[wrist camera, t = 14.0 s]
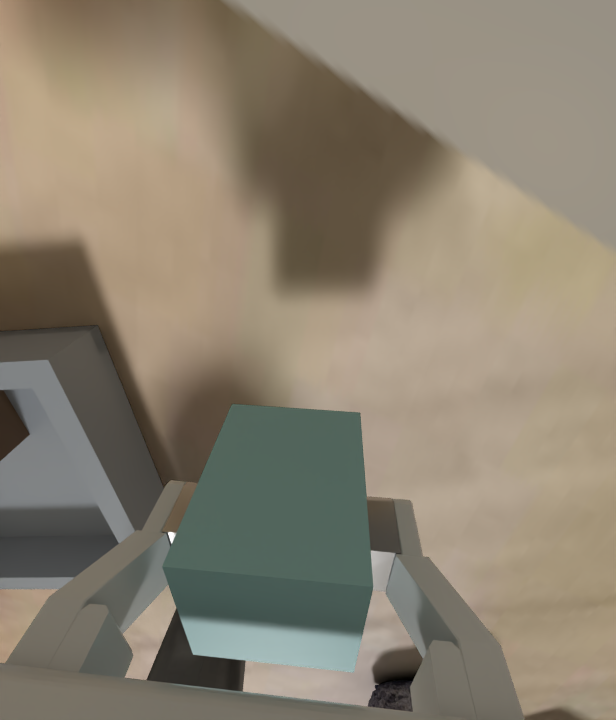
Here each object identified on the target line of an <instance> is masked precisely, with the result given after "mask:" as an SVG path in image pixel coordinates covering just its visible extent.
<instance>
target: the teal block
mask: <svg viewBox="0 0 616 720" xmlns="http://www.w3.org/2000/svg"><path fill="white" fill-rule="evenodd" d="M162 568H163V571H164V574H165V576H166V579H167V582H168V585H169V588H170V591H171V593H172V596H173V599H174V602H175V605H176V608H177V610H178V613H179V616H180V619H181V622H182V625H183V627H184V630H185V633H186V636H187V639H188V642H189V645H190V647H191V650H192V653H193V655H201V656H210V657H219V658H228V659H237V660H246V661H255V662H264V663H273V664H282V665H291V666H300V667H309V668H318V669H327V670H336V671H345V672H354V669H355V665H356V661H357V656H358V652H359V647H360V643H361V639H362V634H363V630H364V626H365V621H366V617H367V613H368V608H369V604H370V599H371V595H372V591H373V575H372V562H371V549H370V536H369V523H368V510H367V496H366V483H365V470H364V457H363V444H362V431H361V417H360V413H358V412H343V411H328V410H314V409H299V408H285V407H270V406H255V405H241V404H232V405H231V407H230V410H229V412H228V414H227V417H226V419H225V421H224V424H223V426H222V428H221V431H220V433H219V435H218V438H217V440H216V442H215V445H214V447H213V449H212V452H211V454H210V456H209V458H208V461H207V463H206V465H205V468H204V470H203V472H202V475H201V477H200V479H199V482H198V484H197V486H196V489H195V491H194V493H193V496H192V498H191V500H190V503H189V505H188V507H187V510H186V512H185V514H184V517H183V519H182V521H181V524H180V526H179V528H178V531H177V533H176V535H175V538H174V540H173V542H172V544H171V547H170V549H169V551H168V554H167V556H166V558H165V561H164V563H163V565H162Z"/></svg>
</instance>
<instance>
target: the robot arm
mask: <svg viewBox="0 0 616 720" xmlns="http://www.w3.org/2000/svg"><path fill="white" fill-rule="evenodd" d="M197 484H198V483H195V482H186V481H175V480H170V481H169V482H168V483H167V484H166V486H165V488H164V490H163V491H162V493H161V495H160V497H159V499H158V501H157V503H156V505H155V507H154V508H153V510H152V512H151V514H150V516H149V518H148V520H147V522H146V523H145V525H144V527H143V529H142V530H136V531H135V532H134V533H132V534H131V535H130V536H128V537H127V538H126V539H125V540H123V541H122V542H121V543H119V544H118V545H117V546H115V547H114V548H113V549H111V550H110V551H109V552H107V553H106V554H105V555H103V556H102V557H101V558H100V559H98V560H97V561H96V562H94V563H93V564H92V565H90V566H89V567H88V568H86V569H85V570H84V571H82V572H81V573H80V574H79V575H77V576H76V577H75V578H73V579H72V580H71V581H69V582H68V583H67V584H65V585H64V586H63V587H61V588H60V589H59V590H58V591H56V592H55V593H54V594H52V595H51V596H50V597H49V598H48V599H47V601H46V602H45V604H44V605H43V607H42V608H41V610H40V611H39V613H38V614H37V616H36V617H35V619H34V620H33V622H32V623H31V625H30V626H29V628H28V629H27V631H26V632H25V634H24V635H23V637H22V638H21V640H20V641H19V643H18V644H17V646H16V647H15V649H14V650H13V652H12V653H11V655H10V656H9V658H8V660H7V661H6V663H5V664H4V663H0V720H525V719H524V716H523V713H522V710H521V707H520V704H519V700H518V697H517V694H516V691H515V688H514V685H513V682H512V679H511V676H510V673H509V670H508V666H507V663H506V660H505V657H504V654H503V651H502V648H501V645H500V644H499V643H498V642H497V640H496V639H495V638H494V637H493V636H492V634H491V633H490V632H489V631H488V629H487V628H486V627H485V626H484V625H483V623H482V622H481V621H480V620H479V618H478V617H477V616H476V615H475V614H474V612H473V611H472V610H471V609H470V607H469V606H468V605H467V604H466V602H465V601H464V600H463V599H462V598H461V596H460V595H459V594H458V593H457V591H456V590H455V589H454V588H453V587H452V585H451V584H450V583H449V582H448V580H447V579H446V578H445V577H444V575H443V574H442V573H441V572H440V571H439V569H438V568H437V567H436V566H435V564H434V563H433V562H432V561H431V560H430V558H429V557H424V556H423V554H422V549H421V544H420V539H419V535H418V530H417V525H416V520H415V515H414V510H413V506H412V503H411V501H410V500H403V499H391V498H382V497H367V510H368V523H369V536H370V549H371V562H372V575H373V590H375V591H383V592H386V595H387V597H388V599H389V600H390V602H391V604H392V606H393V607H394V609H395V611H396V613H397V614H398V616H399V618H400V620H401V621H402V623H403V625H404V627H405V628H406V630H407V632H408V634H409V635H410V637H411V639H412V641H413V642H414V644H415V646H416V648H417V649H418V651H419V653H420V655H421V656H422V658H423V661H422V663H421V665H420V667H419V669H418V671H417V673H416V676H415V678H414V680H413V682H412V684H411V686H410V691H411V699H412V708H413V712H409V711H401V710H393V709H384V708H376V707H367V706H359V705H350V704H342V703H334V702H325V701H317V700H308V699H300V698H291V697H283V696H274V695H266V694H258V693H249V692H241V691H232V690H224V689H215V688H207V687H199V686H190V685H182V684H173V683H165V682H156V681H148V680H139V679H131V678H124V677H125V675H126V672H127V670H128V667H129V665H130V662H131V660H132V657H133V654H132V650H131V648H130V646H129V645H128V643H127V641H126V639H125V637H124V636H123V633H124V632H125V631H126V630H127V628H128V627H129V626H130V625H131V624H132V623H133V622H134V621H135V620H136V619H137V618H138V617H139V616H140V614H141V613H142V612H143V611H144V610H145V609H146V608H147V607H148V606H149V605H150V604H151V603H152V601H153V600H154V599H155V598H156V597H157V596H158V595H159V594H160V593H161V592H162V591H163V590H164V589H165V587H166V586H167V585H168V582H167V579H166V576H165V574H164V571H163V568H162V565H163V563H164V561H165V558H166V556H167V554H168V551H169V549H170V547H171V544H172V542H173V540H174V538H175V535H176V533H177V531H178V528H179V526H180V524H181V521H182V519H183V517H184V514H185V512H186V510H187V507H188V505H189V503H190V500H191V498H192V496H193V493H194V491H195V489H196V486H197Z"/></svg>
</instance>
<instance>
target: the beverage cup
mask: <svg viewBox="0 0 616 720" xmlns="http://www.w3.org/2000/svg"><path fill="white" fill-rule="evenodd" d="M245 661H246V660H237V659H228V658H219V657H210V656H201V655H193V653H192V650H191V647H190V645H189V642H188V639H187V636H186V633H185V630H184V627H183V625H182V622H181V619H180V616H179V613H178V610H177V608H176V611H175V613H174V615H173V618H172V620H171V623H170V625H169V627H168V630H167V632H166V635H165V637H164V639H163V642H162V644H161V647H160V649H159V651H158V654H157V656H156V659H155V661H154V663H153V666H152V668H151V671H150V673H149V675H148V678H147V680H148V681H156V682H165V683H173V684H182V685H190V686H199V687H207V688H215V689H224V690H232V691H241V692H243V682H244V671H245Z"/></svg>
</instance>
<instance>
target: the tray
mask: <svg viewBox="0 0 616 720" xmlns="http://www.w3.org/2000/svg"><path fill="white" fill-rule="evenodd" d="M0 390H4V392H5V394H6V395H7V397H8V399H9V400H10V402H11V404H12V405H13V407H14V409H15V410H16V412H17V414H18V415H19V417H20V419H21V420H22V422H23V424H24V425H25V427H26V429H27V430H28V432H29V433H30V435H29V436H28V437H27V438H25V439H24V440H23V441H22V442H21V443H20V444H19V445H18V446H17V447H16V448H14V449H13V450H12V451H11V452H10V453H9V454H8V455H7V456H6V457H5V458H3V459H2V460H1V461H0V589H60V588H61V587H63V586H64V585H65V584H67V583H68V582H69V581H71V580H72V579H73V578H75V577H76V576H77V575H79V574H80V573H81V572H82V571H84V570H85V569H86V568H88V567H89V566H90V565H92V564H93V563H94V562H96V561H97V560H98V559H100V558H101V557H102V556H103V555H105V554H106V553H107V552H109V551H110V550H111V549H113V548H114V547H115V546H117V545H118V544H119V543H121V542H122V541H123V540H125V539H126V538H127V537H128V536H130V535H131V534H132V533H134V532H135V531H136V530H142V529H143V527H144V525H145V523H146V522H147V520H148V518H149V516H150V514H151V512H152V510H153V508H154V507H155V505H156V503H157V501H158V499H159V497H160V495H161V493H162V491H163V490H164V488H163V485H162V483H161V480H160V478H159V475H158V473H157V470H156V468H155V465H154V463H153V460H152V458H151V456H150V453H149V451H148V448H147V446H146V443H145V441H144V438H143V436H142V433H141V431H140V428H139V426H138V424H137V421H136V419H135V416H134V414H133V411H132V409H131V406H130V404H129V401H128V399H127V396H126V394H125V392H124V389H123V387H122V384H121V382H120V379H119V377H118V374H117V372H116V369H115V367H114V365H113V362H112V360H111V357H110V355H109V352H108V350H107V347H106V345H105V342H104V340H103V337H102V335H101V333H100V330H99V328H98V325H93V326H78V327H62V328H46V329H30V330H14V331H0Z"/></svg>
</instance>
